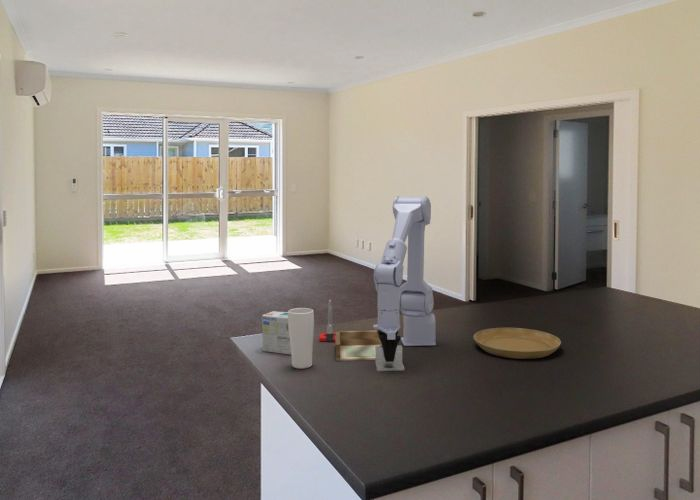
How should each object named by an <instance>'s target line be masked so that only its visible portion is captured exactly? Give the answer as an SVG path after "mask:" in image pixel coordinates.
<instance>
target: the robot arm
mask: <svg viewBox="0 0 700 500" xmlns="http://www.w3.org/2000/svg"><path fill="white" fill-rule="evenodd" d="M392 213H393V218H394V220H395V223H394V228H393V232H392V236H391V239H390V240H388V241H387V242H386V245H385V248H384V251H383V254H382V257H381V260H380V263H379V264H376V266H375V267H374V270H373V281H374V285H375V291H376V292H377V324H373V329H374V330H377V333H378V334H379V339H380V341H381V343H382V346H383V351H384V357H385V361H386V362H394V358H395V353H396V348H397V345H399V342H400V341H401V343H402V346H404V347H415V346H416V347H418V346H422V347H423V346H437V343H436V316H435V313H434V312H432V311H433V309H434V305H435V303H434V302H435V301H434V294H433V292H434V289H433V287H432V286H431V285H429V284H428V283H427V282H426V281H425V280H424V274H425V273H424V269H425V268H424V267H425V266H424V265H425V230H426V226H428V225H430V224H431V219H432V218H431V217H432V216H431V214H432V204H431V200H430V198H429V197H428V196H427V195H424V196H400V195H398V196H396V197H394V199H393V202H392ZM406 240H407V244H406ZM406 253H407V268H406V269H407V270H406V271H407V272H406V274H407V277H406V282H404V283H402V282H403V278H404V277H403V276H404V262H405V258H406ZM400 312H401V315H402V317H403V318H402V319H403V320H402V321H403V322H402V323H403V332H402V333H403V337H401V335H398V334H399V330H400V329H401V325H400Z"/></svg>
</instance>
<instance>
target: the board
mask: <svg viewBox="0 0 700 500" xmlns="http://www.w3.org/2000/svg"><path fill="white" fill-rule="evenodd" d="M375 346H382V345H343V346H340V359H336V358H335V362H336V361H337V362H340V361H341V362H342V361H344V362H345V361H375Z"/></svg>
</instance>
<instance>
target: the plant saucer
mask: <svg viewBox="0 0 700 500" xmlns="http://www.w3.org/2000/svg"><path fill="white" fill-rule="evenodd" d="M473 340H474V341H475V343H476V344H477V346H478V347H480V349H482V350H483V351H484V352H486V353H488V354H491V355H494V356H497V357H503V358H506V359H507V358H508V359H519V360H520V359H521V360H523V359H524V360H527V359H528V360H529V359H531V360H532V359H539V358H540V359H541V358H545V357H547V356H550V355H551V354H553V353H555V352H556V351H557V350H558V349H559V348H560V347H561V346H560V345H561V344H562V341H561V339H560V338H559V337H558V336H556V335H553V334H551V333H549V332H545V331H541V330H537V329H531V328H521V327H495V328H494V327H493V328H486V329H482V330H479V331H477V332H475V333H474V335H473Z"/></svg>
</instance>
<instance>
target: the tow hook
mask: <svg viewBox="0 0 700 500" xmlns="http://www.w3.org/2000/svg"><path fill="white" fill-rule="evenodd" d="M333 327H334V326H333V306H332V299H328V307H327V327H326V332H323V333H320V334H318V341H319V342H326V343H336V336H334V335H336V332H335V331H333V330H334V328H333Z"/></svg>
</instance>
